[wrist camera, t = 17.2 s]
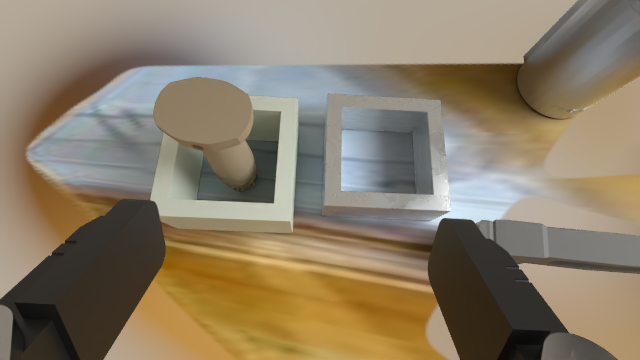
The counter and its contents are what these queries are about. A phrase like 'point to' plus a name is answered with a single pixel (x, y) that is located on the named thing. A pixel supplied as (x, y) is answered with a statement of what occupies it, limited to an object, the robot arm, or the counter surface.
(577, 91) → the robot arm
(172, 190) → the cradle block
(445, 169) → the bore block
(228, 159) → the handle
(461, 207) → the counter surface
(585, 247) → the tapered grey rod
